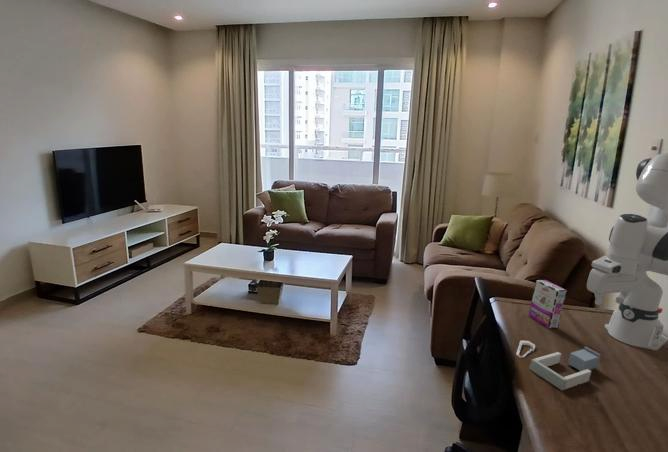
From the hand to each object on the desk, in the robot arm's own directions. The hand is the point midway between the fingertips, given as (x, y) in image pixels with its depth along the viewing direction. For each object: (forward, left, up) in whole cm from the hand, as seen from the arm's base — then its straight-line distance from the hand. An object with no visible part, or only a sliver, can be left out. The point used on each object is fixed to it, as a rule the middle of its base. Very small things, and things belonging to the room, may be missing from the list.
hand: (608, 303), depth 132 cm
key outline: (+17, -13, -22) cm, 31 cm away
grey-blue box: (+8, +1, -22) cm, 23 cm away
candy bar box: (-9, -26, -22) cm, 35 cm away
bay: (+19, +1, -22) cm, 29 cm away
